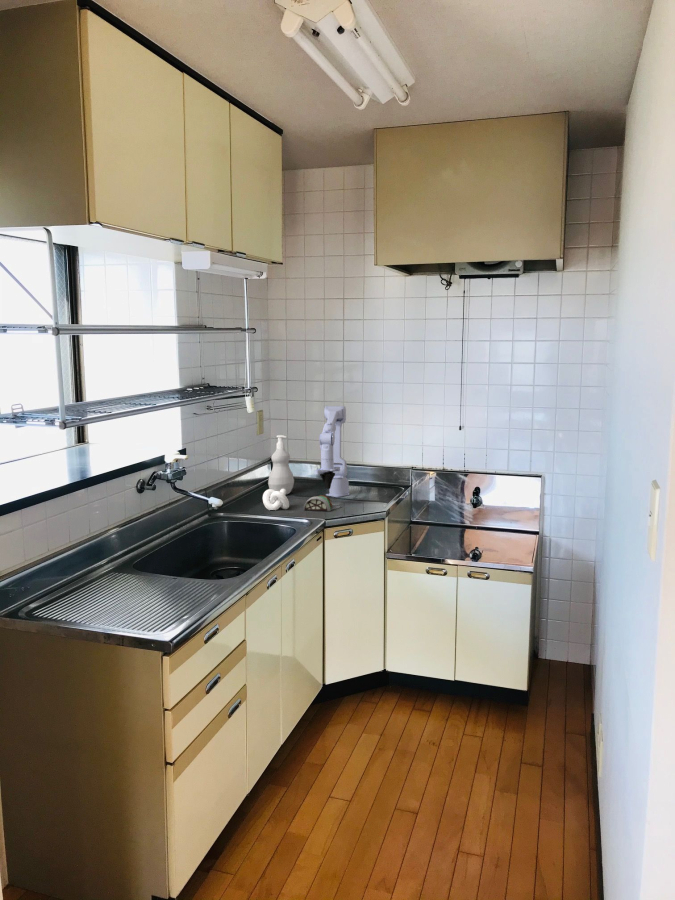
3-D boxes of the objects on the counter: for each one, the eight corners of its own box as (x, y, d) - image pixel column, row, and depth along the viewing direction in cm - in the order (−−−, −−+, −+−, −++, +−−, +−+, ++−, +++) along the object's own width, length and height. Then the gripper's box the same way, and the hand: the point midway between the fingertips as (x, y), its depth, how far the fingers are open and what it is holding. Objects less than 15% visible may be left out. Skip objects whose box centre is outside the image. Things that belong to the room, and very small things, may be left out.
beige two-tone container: (335, 492, 322) (328, 497, 313) (335, 506, 323) (329, 511, 314) (309, 492, 326) (301, 497, 316) (310, 505, 327) (302, 510, 317)
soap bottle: (283, 497, 348) (282, 437, 344) (262, 496, 353) (261, 436, 349) (299, 491, 363) (298, 434, 359) (279, 490, 368) (278, 433, 364)
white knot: (268, 506, 329) (267, 486, 328) (293, 506, 327) (293, 487, 325) (261, 511, 318) (260, 491, 317) (287, 511, 316) (286, 491, 314)
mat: (317, 502, 334) (317, 502, 334) (342, 507, 323) (342, 506, 323) (302, 505, 328) (302, 505, 328) (327, 510, 317) (327, 510, 316)
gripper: (321, 461, 317) (322, 491, 319) (344, 457, 328) (345, 487, 329) (311, 460, 322) (311, 489, 324) (333, 456, 332) (334, 485, 334)
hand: (327, 488), depth 327 cm, fingers closed
